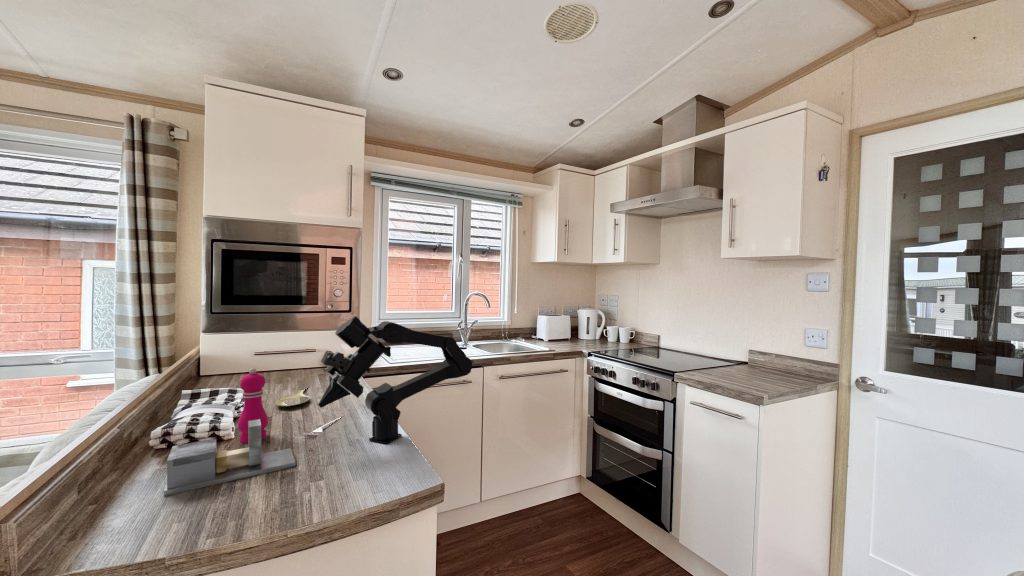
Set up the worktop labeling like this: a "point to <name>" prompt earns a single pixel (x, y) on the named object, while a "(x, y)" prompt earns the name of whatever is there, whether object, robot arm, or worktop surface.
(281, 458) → the grey long blocky piece
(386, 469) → the worktop surface
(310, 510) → the worktop surface
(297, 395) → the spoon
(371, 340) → the robot arm
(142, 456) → the worktop surface
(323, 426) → the fork
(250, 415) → the pepper mill
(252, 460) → the shaft
